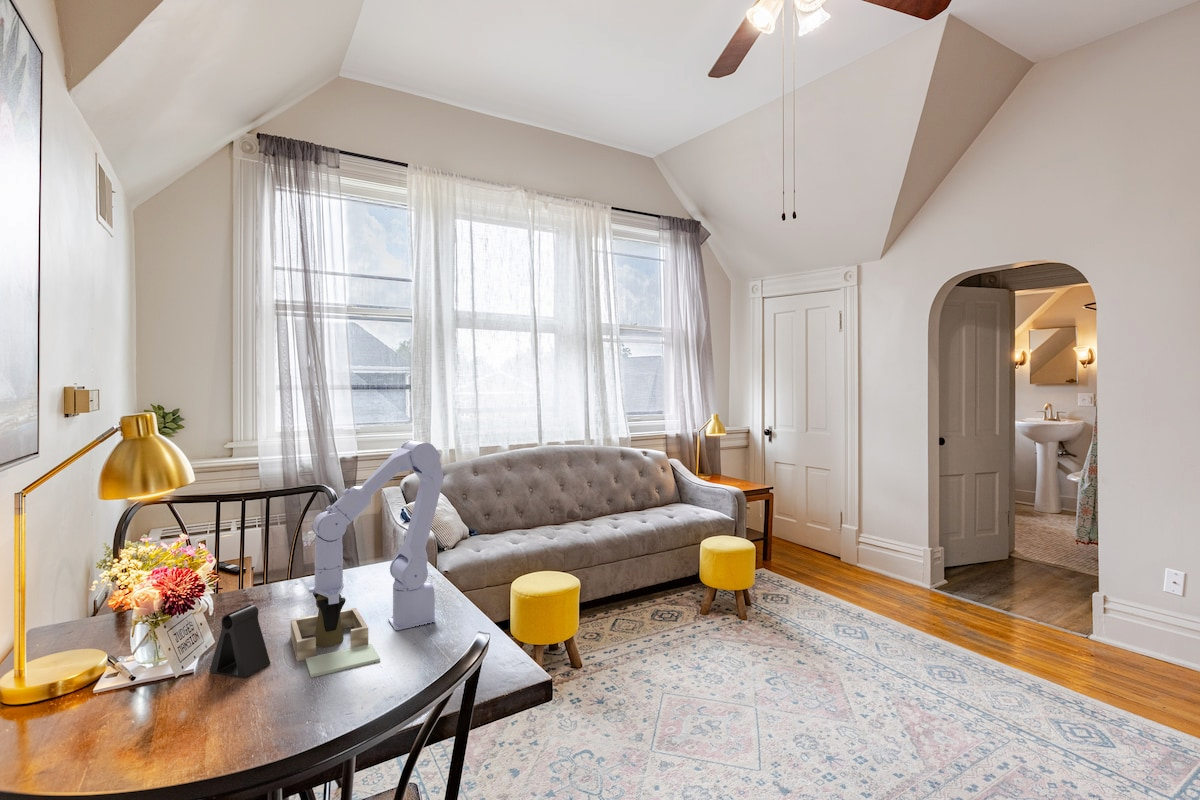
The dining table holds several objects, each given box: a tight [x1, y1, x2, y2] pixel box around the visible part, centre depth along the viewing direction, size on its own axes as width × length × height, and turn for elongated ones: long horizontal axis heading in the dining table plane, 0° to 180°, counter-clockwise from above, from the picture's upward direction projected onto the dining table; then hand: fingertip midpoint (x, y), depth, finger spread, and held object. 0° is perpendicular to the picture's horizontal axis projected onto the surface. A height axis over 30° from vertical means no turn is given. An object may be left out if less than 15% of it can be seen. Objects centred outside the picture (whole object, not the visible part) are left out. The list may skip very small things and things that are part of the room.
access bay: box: [290, 607, 369, 662], centre depth 130 cm, size 14×14×4 cm
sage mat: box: [305, 643, 381, 678], centre depth 121 cm, size 13×8×1 cm, turn 123°
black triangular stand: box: [208, 604, 271, 680], centre depth 117 cm, size 9×6×12 cm, turn 75°
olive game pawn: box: [314, 593, 344, 648], centre depth 130 cm, size 6×6×11 cm
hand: (328, 626), depth 130 cm, fingers closed on olive game pawn, 5 cm apart
